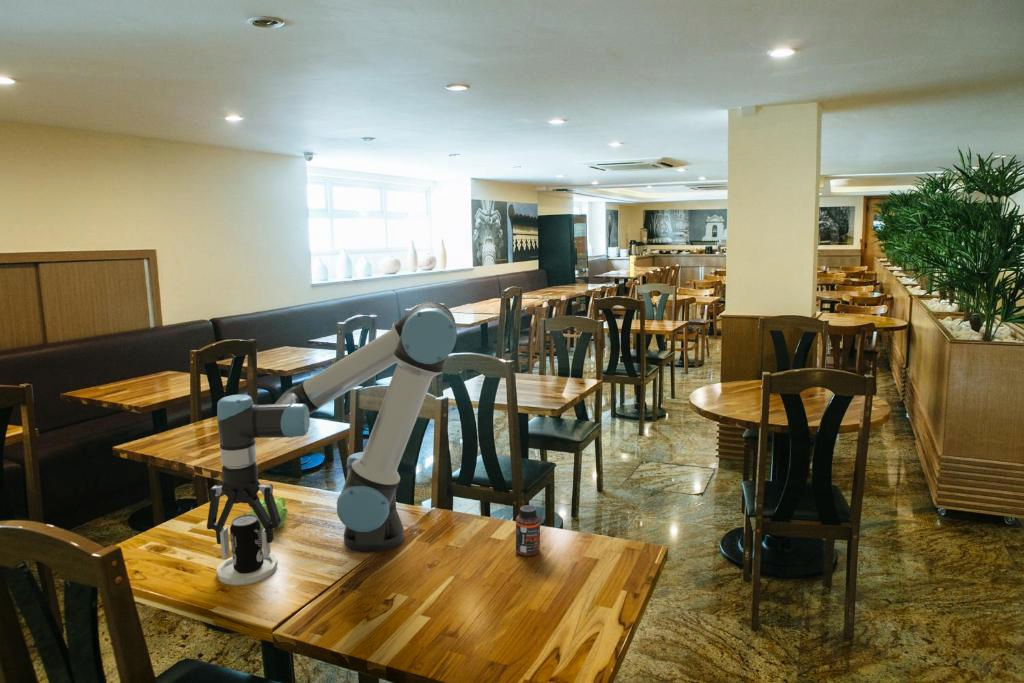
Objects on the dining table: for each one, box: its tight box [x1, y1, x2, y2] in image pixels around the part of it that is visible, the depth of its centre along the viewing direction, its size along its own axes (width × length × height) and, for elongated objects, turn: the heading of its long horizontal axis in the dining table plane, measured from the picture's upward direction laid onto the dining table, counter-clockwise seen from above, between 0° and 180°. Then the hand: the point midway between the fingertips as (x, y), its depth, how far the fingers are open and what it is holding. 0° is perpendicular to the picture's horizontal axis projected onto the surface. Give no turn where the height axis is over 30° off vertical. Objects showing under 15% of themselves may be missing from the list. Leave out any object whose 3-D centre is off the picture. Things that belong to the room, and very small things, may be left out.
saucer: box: [216, 553, 279, 587], centre depth 162 cm, size 13×13×2 cm
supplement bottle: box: [515, 504, 541, 557], centre depth 170 cm, size 6×6×11 cm
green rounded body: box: [242, 496, 289, 531], centre depth 185 cm, size 11×12×8 cm
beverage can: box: [229, 514, 264, 574], centre depth 161 cm, size 7×7×12 cm
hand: (246, 555), depth 161 cm, fingers open, 9 cm apart
